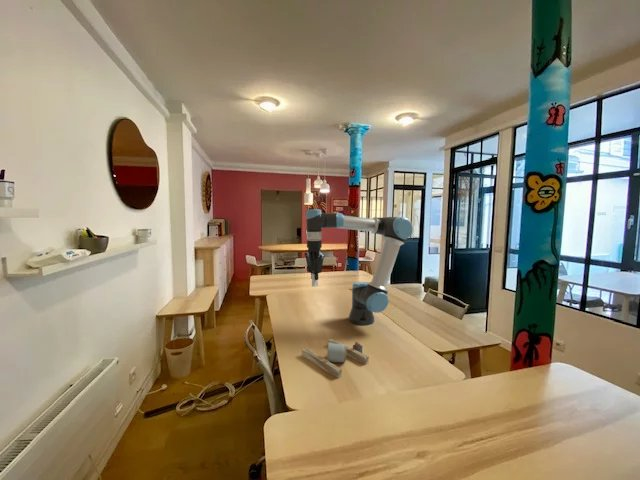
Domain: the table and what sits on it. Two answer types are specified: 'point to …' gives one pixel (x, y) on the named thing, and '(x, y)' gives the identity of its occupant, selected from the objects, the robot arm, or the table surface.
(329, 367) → the beam channel
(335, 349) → the ceramic mug
